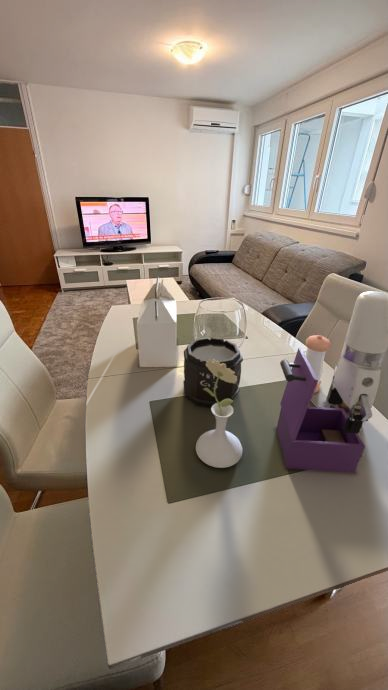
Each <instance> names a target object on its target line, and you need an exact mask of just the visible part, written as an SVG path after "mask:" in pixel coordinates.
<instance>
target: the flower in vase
mask: <svg viewBox="0 0 388 690" xmlns="http://www.w3.org/2000/svg"><path fill="white" fill-rule="evenodd" d="M206 362H207V363H206V366H207V367H208V369H209V370H210V371H211V372H212V373H213V374H215V376H217V380H216V384H215V387H214V393H212V392H211V391H210V390H209V389H208V388H204V389H203V390H205V391H207V392H208V393H210V394H211V395H212V396H213V397H214V396H215V399H216V401H217V403H216V404H214V405H213V406H212V407H210V410H211V413H212V414H213V415H214V418H215V429H211V430H208V431H205V432H204V433H202V434H201V435H200V436H199V437H198V439H197V440H196V443H195V452H196V455H197V456H198V458H199V459H200V460H201V461H202V462H203V463H204V464H206V465H207V466H209V467H212V468H217V469H225V468H229V467H232V466H234V465H236V464H237V463H238V462H239V461H240V460H241V458H242V456H243V446H242V444H241V441H240V440H239V438H238V437H237V436H236V435H234V434H233V433H232V432H230V431H228V430H226V427H227V422H228V419H229V418H230V417H231V416H233V414H234V408H233V406H232V404H233V403H234V399H233V400H231V399H224V400H223V401H221V402H220V403H219V402H218V400H217V397H216V394H215V389H216V385H217V382H218V379H219V378H220V379H221V380H224V381H225V382H229V383H234V384H235V382H236V381H237V379H236V378H237V377H236V376H235V375H233V374H235V372H234V371H231V369H229V368H226V364H224V363H222V364H220V363H219V362H218V361H216V360H215V359H213V362H214V363H213V362H212V361H211V360H208V361H206Z"/></svg>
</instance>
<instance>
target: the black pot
mask: <svg viewBox="0 0 388 690" xmlns="http://www.w3.org/2000/svg"><path fill="white" fill-rule="evenodd" d="M213 359H215V360H216V361H218V362H219V363H220V364H222V363H224V364H226V368H229V369H231V371H234V372H235V374H233V375H235V376H236V377H237V378H236V379H237V381H236V382H235V384H234V383H229V382H225V381H224V380H221V379H220V378H219V379H218V382H217V385H216V389H215V394H216V397H217V400H218V402H219V403H220V402H221V401H223V400H224V399H231V400H233V401H234V399H235V397H237V396H238V394H239V392H240V387H239V386H240V383H241V378H242V377H241V374H242V363H243V361H244V358H243V356H242V354H241V351H240V349H239V348H238V345H237V344H236V343H233V342H231V341H229V340H227V339H224V338H220V337H219V338H218V337H210V338H209V337H202V338H196V339H194V340H193V341H192V342H191V343H189V344H188V345H186V348H185V349H183V376H184V377H183V378H184V380H183V392H184V395H186V397H187V398H188V399H190V401H192V402H193V403H195V404H196V405H198V406H200V407H201V406H202V407H207V408H211V407H212V406H213V405H214V404H216V403H217V401H216V399H215V396H214V397H213V396H212V395H211V394H210V393H208V392H207V391H205V390H203V389H204V388H208V389H209V390H210V391H211V392H212V393H214V387H215V384H216V380H217V376H215V374H213V373H212V372H211V371H210V370H209V369H208V367H207V366H206V363H207V362H206V361H208V360H211V361H212V362H213ZM213 363H214V362H213Z"/></svg>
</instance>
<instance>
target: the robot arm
mask: <svg viewBox="0 0 388 690" xmlns="http://www.w3.org/2000/svg"><path fill="white" fill-rule="evenodd" d="M387 350H388V292H384V291H376V290H370V291H364V292H361V293H360V294H359V295H358V296H357V298H356V300H355V303H354V307H353V309H352V314H351V317H350V321H349V325H348V328H347V332H346V336H345V340H344V342H343V346H342V350H341V353H340V358H339V360H340V361H339V363H338V362H337V363H338V366H337V365H336V366H334V370H333V371H334V372H333V376H332V380H333V382H334V383H333V384H332V389H331V393H330V397H329V400H328V402H329V404H342V402H343V401H344V403H345V404H346V405H347V406H348V407H349V417H347V420H346V423H345V426H344V429H343V431H344V433H354V434H358V435H359V434H360V431H361V429H362V426H363V423H365V422H368V421H369V420H370V419H371V418H372V417H373V411H372V408H373V405H374V402H375V399H376V395H377V392H378V388H379V384H380V379H381V371H382V369H381V366H382V364H383V361H384V358H385V355H386V353H387ZM357 402H360V406H355V404H356V403H357ZM354 409H360V415H355V414H354Z"/></svg>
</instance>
